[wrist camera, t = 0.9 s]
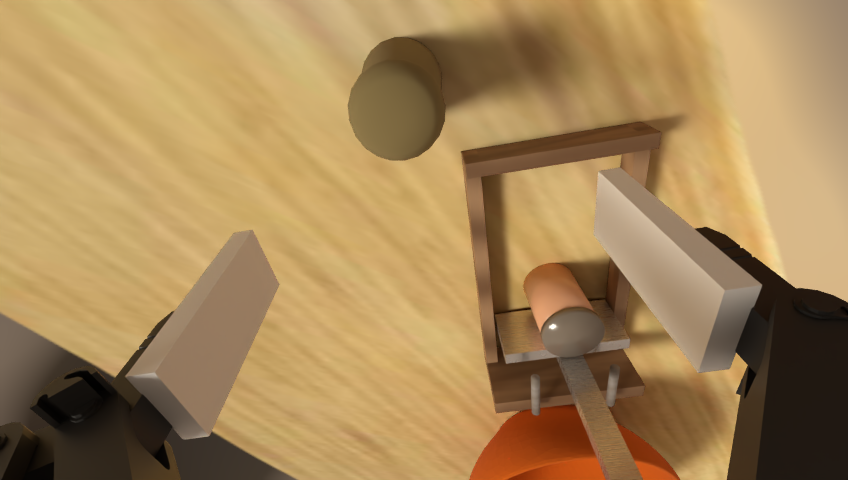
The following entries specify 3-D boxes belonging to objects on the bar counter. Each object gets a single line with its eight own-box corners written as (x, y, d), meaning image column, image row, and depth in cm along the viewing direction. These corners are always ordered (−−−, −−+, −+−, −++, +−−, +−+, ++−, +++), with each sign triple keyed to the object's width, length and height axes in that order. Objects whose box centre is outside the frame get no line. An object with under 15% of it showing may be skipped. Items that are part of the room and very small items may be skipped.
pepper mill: (457, 63, 28) (478, 93, 19) (419, 136, 31) (421, 194, 21) (381, 19, 26) (363, 27, 17) (348, 100, 29) (317, 145, 20)
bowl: (632, 470, 58) (670, 550, 50) (469, 491, 60) (478, 571, 52) (650, 359, 45) (705, 441, 37) (441, 390, 47) (447, 475, 39)
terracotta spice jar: (521, 266, 38) (543, 318, 31) (575, 258, 37) (607, 309, 31) (523, 306, 40) (543, 360, 34) (572, 299, 40) (602, 353, 34)
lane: (461, 151, 31) (475, 194, 24) (640, 121, 30) (710, 157, 23) (485, 358, 44) (498, 426, 37) (611, 341, 43) (650, 408, 36)
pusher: (494, 314, 40) (542, 496, 25) (604, 299, 40) (720, 477, 25) (495, 322, 41) (542, 504, 26) (603, 307, 40) (716, 486, 25)
